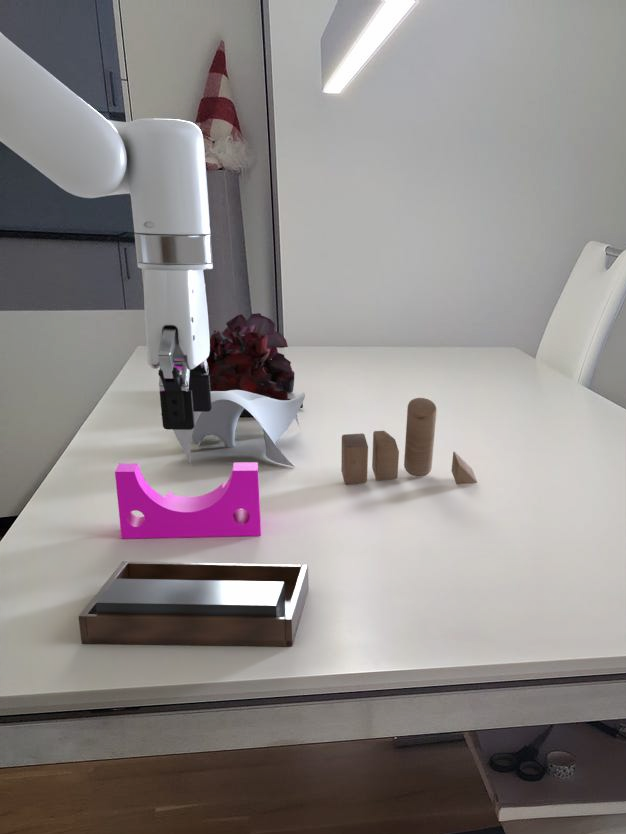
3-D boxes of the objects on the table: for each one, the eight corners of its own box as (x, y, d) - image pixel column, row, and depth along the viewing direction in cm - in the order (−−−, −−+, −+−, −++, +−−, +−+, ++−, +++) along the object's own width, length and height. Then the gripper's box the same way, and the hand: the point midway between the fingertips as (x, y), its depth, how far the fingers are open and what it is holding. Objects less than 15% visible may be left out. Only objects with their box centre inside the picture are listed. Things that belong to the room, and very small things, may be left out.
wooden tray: (81, 643, 87) (76, 605, 86) (125, 585, 100) (121, 551, 99) (292, 646, 88) (291, 608, 87) (308, 588, 101) (307, 555, 100)
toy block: (260, 519, 122) (257, 457, 119) (260, 535, 116) (257, 470, 113) (127, 522, 119) (121, 458, 116) (121, 538, 113) (114, 471, 111)
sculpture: (188, 429, 166) (184, 367, 163) (307, 430, 169) (305, 369, 165) (165, 466, 144) (159, 395, 140) (303, 467, 146) (301, 397, 142)
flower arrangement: (306, 418, 178) (303, 328, 172) (187, 418, 174) (181, 326, 168) (295, 387, 206) (292, 308, 200) (192, 386, 202) (187, 306, 196)
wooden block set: (346, 503, 138) (347, 439, 131) (336, 463, 144) (337, 401, 137) (476, 493, 143) (483, 431, 135) (461, 455, 148) (468, 394, 141)
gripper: (156, 248, 114) (171, 404, 121) (114, 257, 98) (133, 436, 105) (225, 249, 114) (236, 405, 121) (194, 259, 99) (208, 437, 105)
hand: (188, 419), depth 113 cm, fingers open, 9 cm apart
